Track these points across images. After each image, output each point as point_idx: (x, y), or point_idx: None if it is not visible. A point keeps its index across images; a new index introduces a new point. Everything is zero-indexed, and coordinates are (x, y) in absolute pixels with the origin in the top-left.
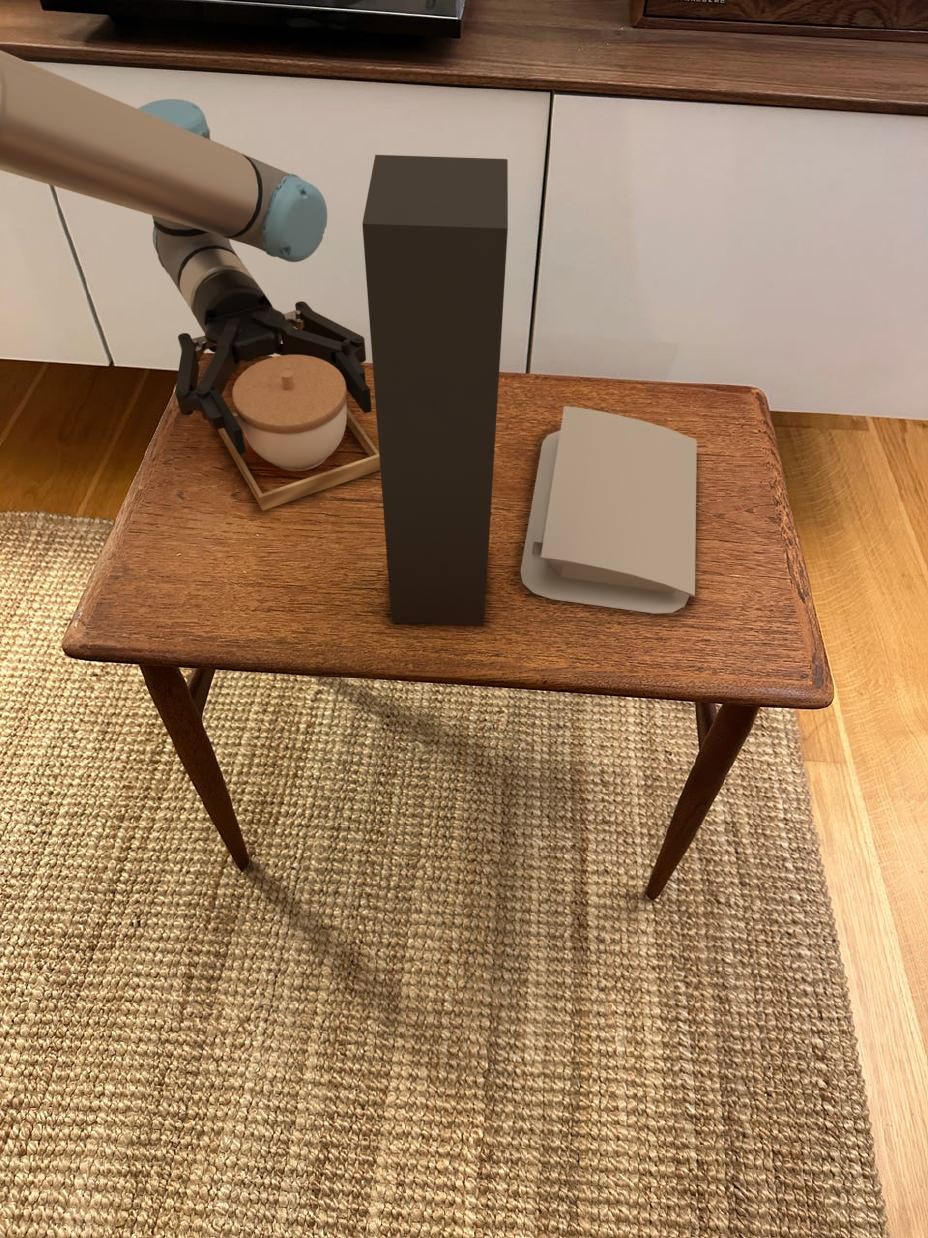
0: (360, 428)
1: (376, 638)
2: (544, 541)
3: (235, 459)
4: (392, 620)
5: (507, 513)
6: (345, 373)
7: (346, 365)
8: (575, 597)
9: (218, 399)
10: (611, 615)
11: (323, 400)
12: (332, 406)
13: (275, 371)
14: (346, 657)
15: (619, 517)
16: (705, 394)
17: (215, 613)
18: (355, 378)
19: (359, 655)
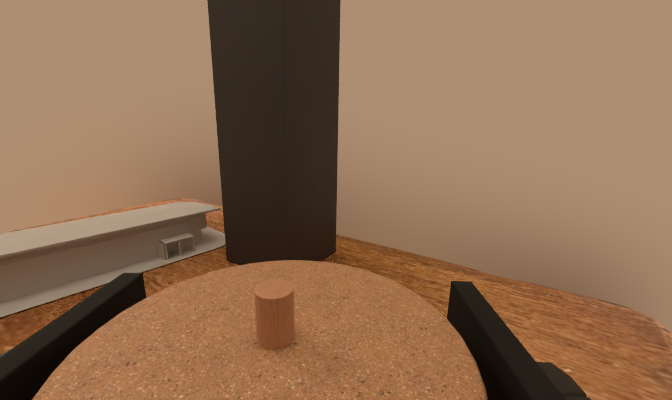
0: None
1: (352, 248)
2: (204, 211)
3: None
4: (335, 248)
5: (158, 278)
6: (48, 374)
7: (29, 351)
8: (212, 231)
9: (544, 389)
10: (208, 224)
11: (238, 278)
12: (236, 266)
13: None
14: (379, 247)
15: (136, 211)
16: None
17: (490, 294)
18: (98, 302)
19: (369, 246)
